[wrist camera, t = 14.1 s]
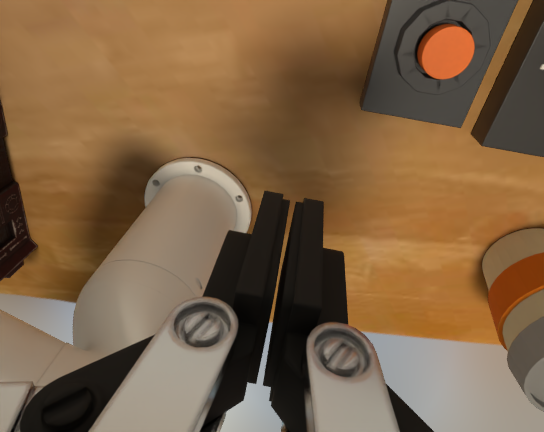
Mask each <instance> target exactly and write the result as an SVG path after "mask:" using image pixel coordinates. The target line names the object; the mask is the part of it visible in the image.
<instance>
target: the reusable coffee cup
mask: <svg viewBox="0 0 544 432" xmlns="http://www.w3.org/2000/svg"><path fill="white" fill-rule="evenodd" d="M482 269H483V273H484V277H485V280H486V283H487V286H488V290H489V293H488V303H489V307H490V310H491V314H492V317H493V320H494V324H495V327H496V331H497V334H498V337H499V341H500V342H501V344H502V345H503V347H504V348H505V349H506V350H507V351H508V356H507V361H508V366H509V369H510V370H511V372H512V373H513V375H514V377H515V378H516V380H517V382H518V383H519V385H520V387H521V388H522V390H523V392H524V393H525V395H526V396H527V398H528V400H529V401H530V402H531V403H532V404H533V405H534V406H535V407H536V408H538V409H540V410H541V411H543V412H544V229H539V228H532V229H524V230H520V231H516V232H513V233H511V234H508V235H506V236H505V237H503V238H501V239H499V240H498V241H497V242H495V243H494V244H493V245H492V246H491V247H490V248H489V249H488V251H487V252H486V254H485V255H484V258H483V261H482Z"/></svg>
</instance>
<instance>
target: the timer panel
mask: <svg viewBox="0 0 544 432" xmlns="http://www.w3.org/2000/svg"><path fill="white" fill-rule="evenodd" d="M471 135H472V136H473V137H474V138H475V139H476V140H477V141H478V142H479V143H480V144H481V146H485V147H491V148H496V149H502V150H507V151H513V152H518V153H524V154H529V155H535V156H540V157H544V0H534V1H533V3H532V5H531V7H530V9H529V11H528V13H527V16H526V18H525V20H524V22H523V24H522V26H521V28H520V30H519V33H518V35H517V37H516V39H515V41H514V43H513V45H512V47H511V50H510V52H509V54H508V56H507V58H506V60H505V62H504V65H503V67H502V69H501V71H500V73H499V75H498V77H497V79H496V82H495V84H494V86H493V88H492V90H491V92H490V94H489V96H488V99H487V101H486V103H485V105H484V107H483V109H482V111H481V113H480V116H479V118H478V120H477V122H476V124H475V126H474V128H473V131H472V133H471Z"/></svg>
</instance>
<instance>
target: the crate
mask: <svg viewBox="0 0 544 432" xmlns="http://www.w3.org/2000/svg"><path fill="white" fill-rule="evenodd" d="M7 135H8V134H7V129H6V125H5V120H4V115H3V111H2V106H1V102H0V281H1V280H2V279H3V278H10V277H11V276H12V275H13V274H14V273H15V272H16V271H17V270H18V269H20V268H21V267H22V266H23V265H24V264H23V260H24V259H25V258H26V257H27V256H28V255H29V254H30V253H31V252H32V251H33V250H35V249H36V248H37V247H38V245H37V244H35V243H34V242H33V241H32V240H31V239H30V236H29V231H28V227H27V222H26V218H25V213H24V208H23V204H22V199H21V194H20V190H19V185H18V183H17V182H14V181H12V177H11V173H10V168H9V164H8V159H7V155H6V150H5V146H4V141H3V137H5V136H7Z"/></svg>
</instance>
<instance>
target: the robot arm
mask: <svg viewBox="0 0 544 432" xmlns="http://www.w3.org/2000/svg"><path fill="white" fill-rule="evenodd" d="M199 166H201V167H199ZM239 195H240V196H239ZM144 199H145V207H146V208H145V209H144V210H143V212H142V213H141V214H140V215H139V217H138V218H137V219H136V220H135V222H134V223H133V224H132V226H131V227H130V228H129V229H128V231H127V232H126V233H125V234H124V236H123V237H122V238H121V239H120V241H119V242H118V243H117V244H116V246H115V247H114V248H113V250H112V251H111V252H110V253H109V255H108V256H107V257H106V258H105V260H104V261H103V262H102V263H101V265H100V266H99V267H98V269H97V270H96V271H95V272H94V274H93V275H92V276H91V278H90V279H89V280H88V282H87V283H86V284H85V286H84V287H83V289H82V291H81V293H80V295H79V297H78V300H77V303H76V307H75V311H74V317H73V345H74V346H73V345H71V344H69V343H64V342H62V341H60V340H59V339H57V338H55V337H53V336H51V335H49V334H47V333H45V332H43V331H41V330H39V329H37V328H35V327H33V326H31V325H29V324H28V323H25V322H24V321H22V320H20V319H18V318H16V317H14V316H12V315H10V314H8V313H6V312H4V311H2V310H0V432H220V430H221V427H222V425H223V422H224V419H225V416H226V411H228V410H229V409H231V408H232V407H234V406H235V405H237V404H238V403H240V402H241V401H243V400H244V396H245V392H246V387H247V382H249V383H255V384H256V382H257V377H258V372H259V367H260V362H261V358H262V353H263V348H264V343H265V338H266V333H267V329H268V324H269V319H270V314H271V309H272V304H273V299H274V294H275V288H276V282H277V276H278V270H279V264H280V258H281V252H282V246H283V240H284V234H285V228H286V222H287V216H288V210H289V204H290V200H285V199H283V194H280V193H275V192H270V191H264V195H263V198H262V201H261V205H260V208H259V212H258V215H257V218H256V222H255V225H254V229H253V232H252V234H248V233H246V232H247V230H248V228H249V225H250V222H251V215H252V210H251V203H250V199H249V196H248V194H247V192H246V190H245V188H244V187H243V185H242V184H241V183H240V182H239V180H238V179H237V178H236V177H235V176H234V175H233V174H231V173H230V172H229V171H228V170H226V169H225V168H223V167H221V166H220V165H218V164H215V163H213V162H210V161H207V160H203V159H199V158H182V159H176V160H174V161H171V162H168V163H166V164H165V165H163V166H162V167H160V168H159V169H158V170H157V171H156V172H155V173H154V174H153V176H152V177H151V178H150V179H149V181H148V184H147V186H146V189H145V195H144ZM323 211H324V202H323V201H317V200H312V199H307V198H304V201H303V203H301V202H296V204H295V208H294V213H293V218H292V222H291V227H290V232H289V237H288V241H287V246H286V251H285V256H284V260H283V265H282V270H281V275H280V280H279V286H278V293H277V299H276V305H275V312H274V318H273V324H272V331H271V337H270V344H269V350H268V356H267V363H266V369H265V376H264V382H263V385H264V386H268V387H271V391H270V399H269V401H272V403H271V406H272V408H273V409H274V410H275V412H276V413H277V415H278V416H279V417H280V419H281V420H282V427H281V432H434V431H433V430H432V429H431V428H430V427H429V426H428V425H427V424H426V423H425V422H424V421H423V420H422V419H421V418H420V417H419V416H418V415H417V414H416V413H415V412H414V411H413V410H412V409H411V408H410V407H409V406H408V405H407V404H406V403H405V402H404V401H403V400H402V399H401V398H400V397H399V396H398V395H397V394H396V393H395V392H394V391H393V390H392V389H391V388H390V387H389V386H388V385H387V384H386V383H385V380H384V376H383V373H382V370H381V366H380V363H379V360H378V356H377V353H376V351H375V349H374V346H373V344H372V343H371V342H370V341H369V339H368V338H367V337H366V336H365V335H364V334H363V333H361V332H360V331H359V330H357V329H356V328H354V327H351V326H349V325H348V313H347V296H346V280H345V263H344V253H343V252H342V251H337V250H331V249H326V248H323Z"/></svg>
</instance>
